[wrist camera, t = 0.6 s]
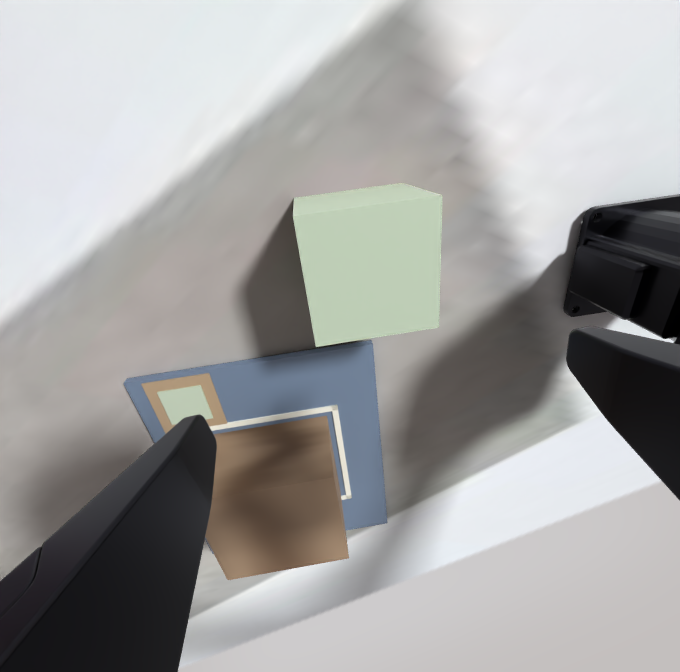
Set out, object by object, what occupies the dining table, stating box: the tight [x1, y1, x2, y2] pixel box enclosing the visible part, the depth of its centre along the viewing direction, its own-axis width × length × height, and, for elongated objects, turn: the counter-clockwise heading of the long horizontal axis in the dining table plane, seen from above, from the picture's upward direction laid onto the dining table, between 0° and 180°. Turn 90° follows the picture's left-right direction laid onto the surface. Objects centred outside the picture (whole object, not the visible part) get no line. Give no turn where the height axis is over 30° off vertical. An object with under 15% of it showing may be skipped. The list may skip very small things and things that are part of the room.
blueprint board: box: [124, 340, 387, 554], centre depth 25 cm, size 15×18×1 cm
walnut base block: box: [205, 416, 349, 580], centre depth 23 cm, size 8×8×5 cm
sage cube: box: [293, 183, 442, 347], centre depth 16 cm, size 6×6×6 cm
